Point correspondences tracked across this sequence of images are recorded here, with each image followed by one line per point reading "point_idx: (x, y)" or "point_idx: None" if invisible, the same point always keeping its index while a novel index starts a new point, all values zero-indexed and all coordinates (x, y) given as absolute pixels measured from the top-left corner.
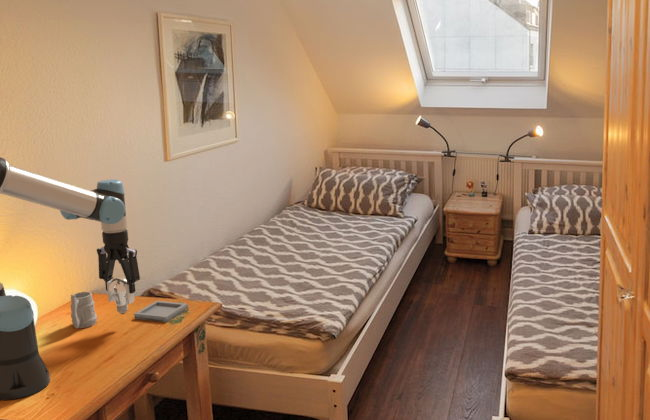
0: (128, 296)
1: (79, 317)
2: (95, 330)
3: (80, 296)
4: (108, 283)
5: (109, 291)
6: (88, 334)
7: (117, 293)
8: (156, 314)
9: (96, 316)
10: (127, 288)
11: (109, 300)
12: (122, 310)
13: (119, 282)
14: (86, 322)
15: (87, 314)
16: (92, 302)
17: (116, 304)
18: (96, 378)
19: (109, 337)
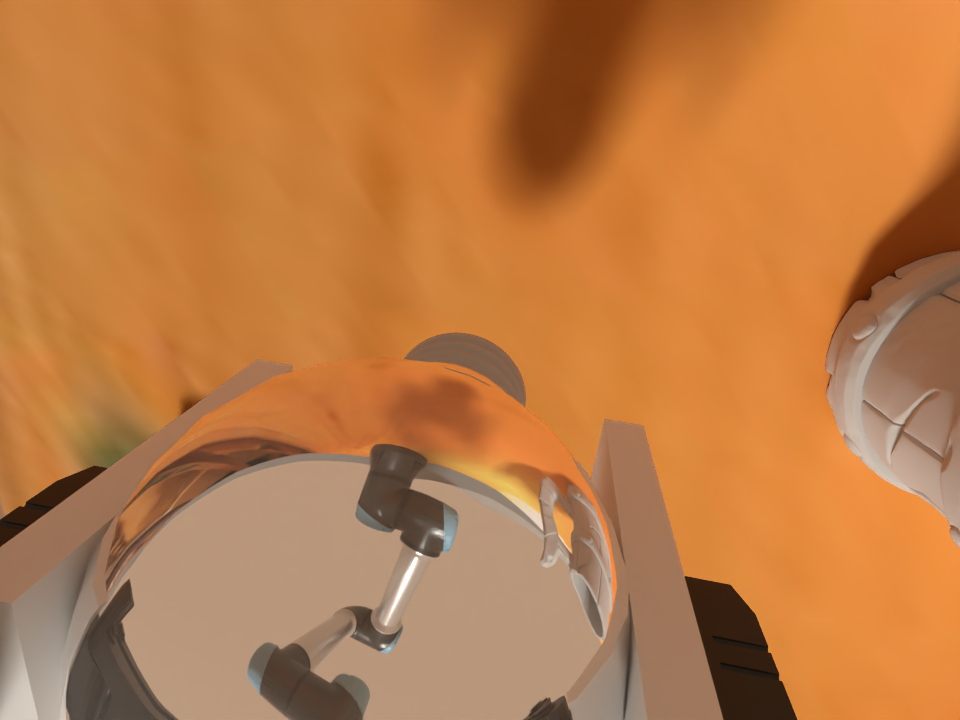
0: (184, 415)
1: None
2: (743, 208)
3: None
4: (658, 703)
5: (549, 443)
6: (774, 90)
7: (303, 371)
8: None
9: (847, 427)
10: (62, 508)
11: (628, 434)
12: (424, 349)
13: (131, 636)
14: (908, 280)
15: (949, 337)
16: None
17: (488, 377)
18: None
19: (489, 47)
